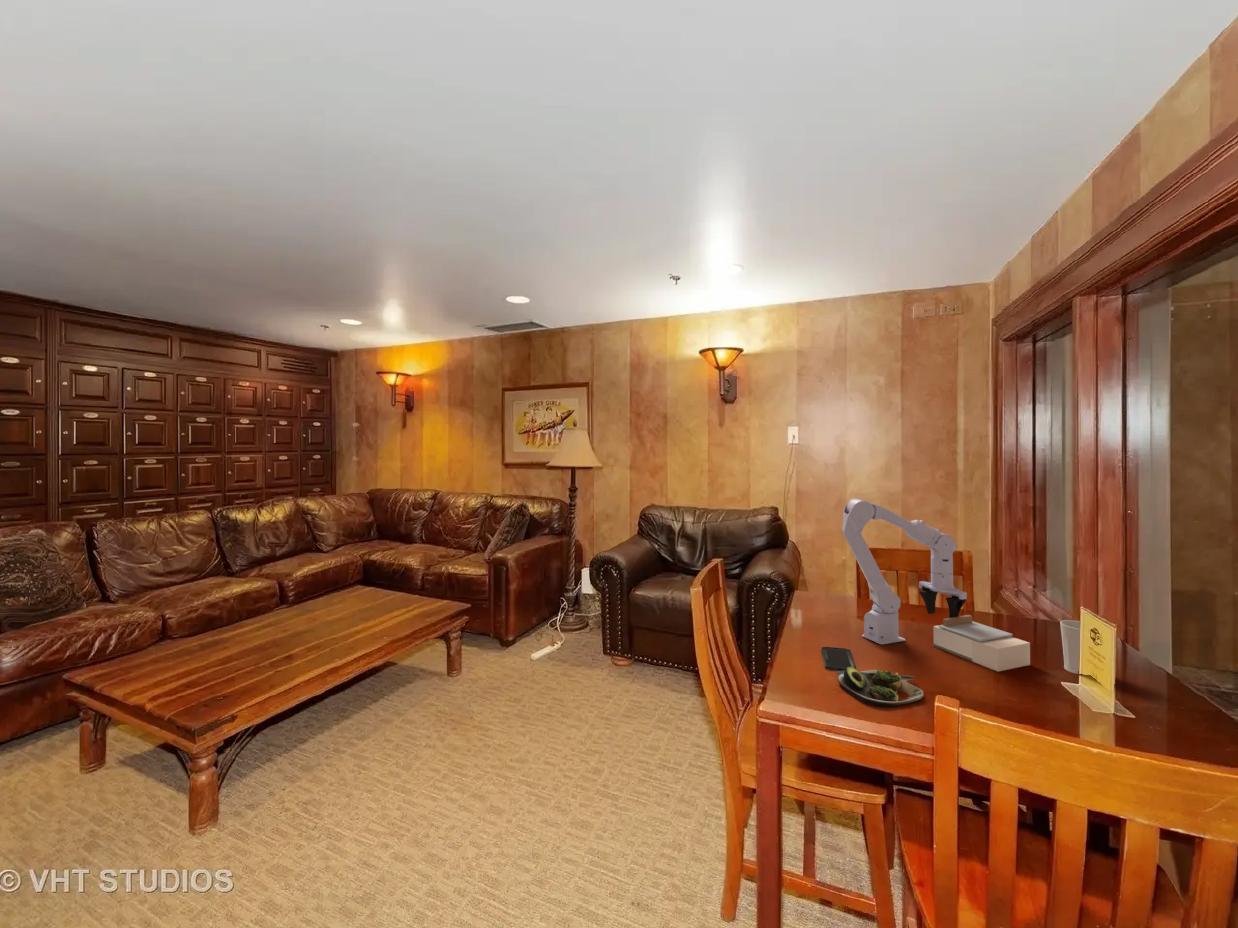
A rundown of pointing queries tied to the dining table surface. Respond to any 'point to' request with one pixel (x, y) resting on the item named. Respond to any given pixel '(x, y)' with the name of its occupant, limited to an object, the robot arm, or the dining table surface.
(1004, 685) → the dining table surface
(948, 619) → the lid
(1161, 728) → the dining table surface
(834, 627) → the dining table surface
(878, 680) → the salad plate
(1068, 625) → the cup
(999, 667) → the carton
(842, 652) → the phone
